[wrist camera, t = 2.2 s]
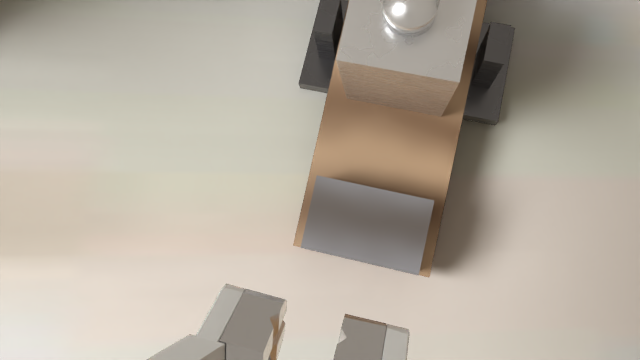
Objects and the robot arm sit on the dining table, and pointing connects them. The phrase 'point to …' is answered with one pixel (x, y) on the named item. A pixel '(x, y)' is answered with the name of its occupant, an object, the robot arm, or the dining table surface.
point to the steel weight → (404, 52)
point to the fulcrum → (485, 72)
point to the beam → (382, 175)
